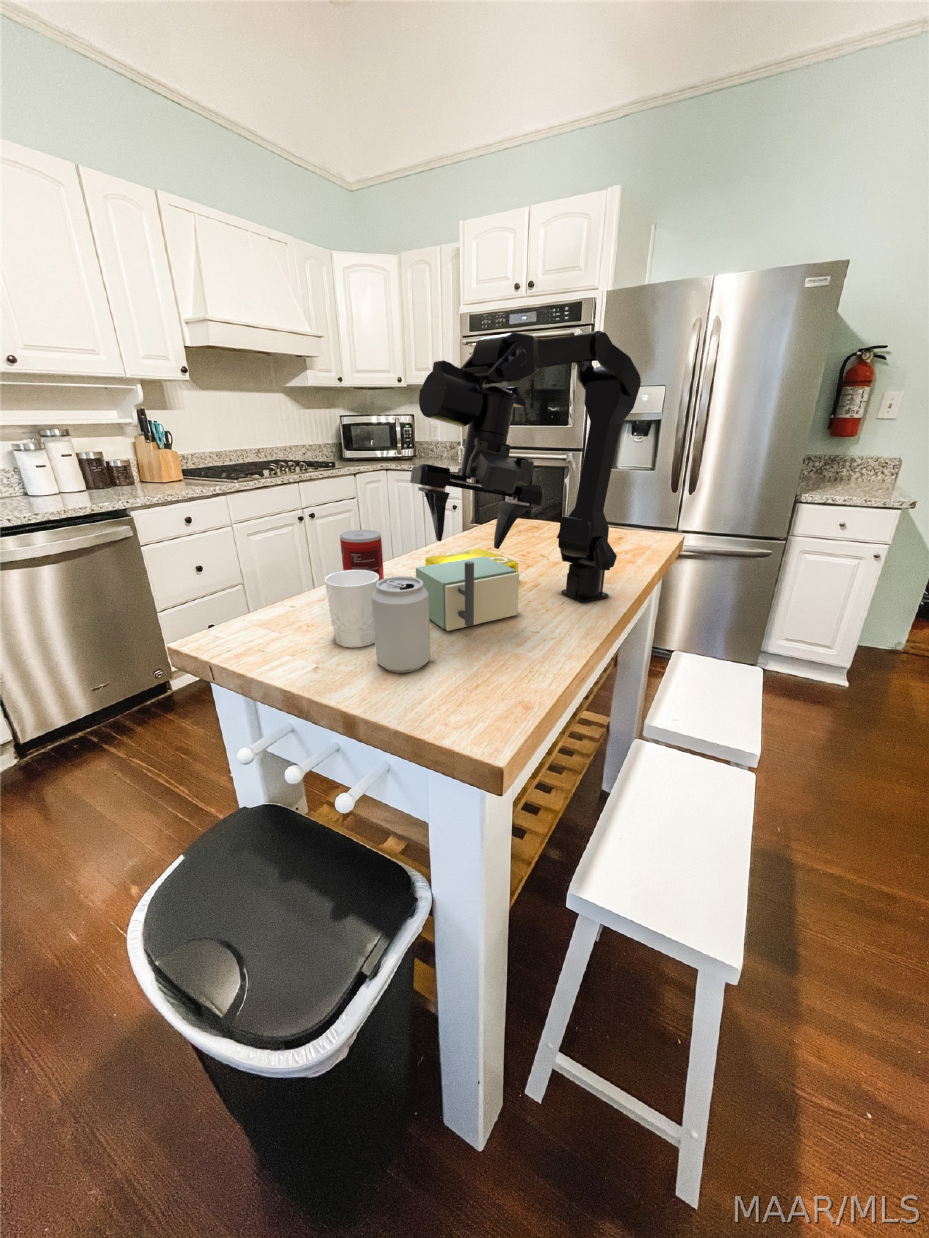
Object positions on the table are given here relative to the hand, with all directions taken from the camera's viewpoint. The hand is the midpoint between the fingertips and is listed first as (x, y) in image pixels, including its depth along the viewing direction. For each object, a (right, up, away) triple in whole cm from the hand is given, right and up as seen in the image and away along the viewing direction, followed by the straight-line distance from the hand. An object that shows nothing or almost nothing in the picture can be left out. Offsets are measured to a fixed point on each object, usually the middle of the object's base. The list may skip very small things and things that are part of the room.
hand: (468, 544), depth 74 cm
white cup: (-17, -14, +4) cm, 23 cm away
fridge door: (+3, -12, +8) cm, 15 cm away
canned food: (-20, -5, +26) cm, 33 cm away
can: (-9, -17, -3) cm, 20 cm away
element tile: (+1, -3, +31) cm, 31 cm away
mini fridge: (0, -10, +14) cm, 17 cm away
